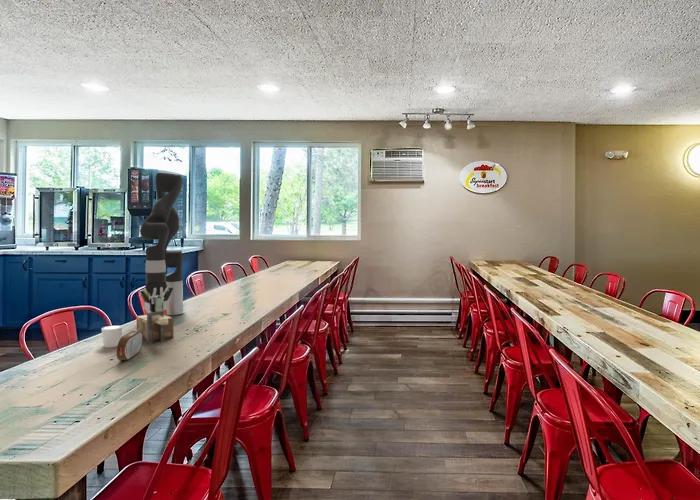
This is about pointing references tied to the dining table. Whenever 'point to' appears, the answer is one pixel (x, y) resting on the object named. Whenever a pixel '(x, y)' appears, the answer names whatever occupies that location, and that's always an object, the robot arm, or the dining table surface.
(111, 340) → the white cup
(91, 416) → the dining table surface
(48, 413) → the dining table surface
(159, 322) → the key
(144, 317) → the lid
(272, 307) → the dining table surface
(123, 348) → the tin
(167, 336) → the toolbox
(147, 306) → the french fries container
